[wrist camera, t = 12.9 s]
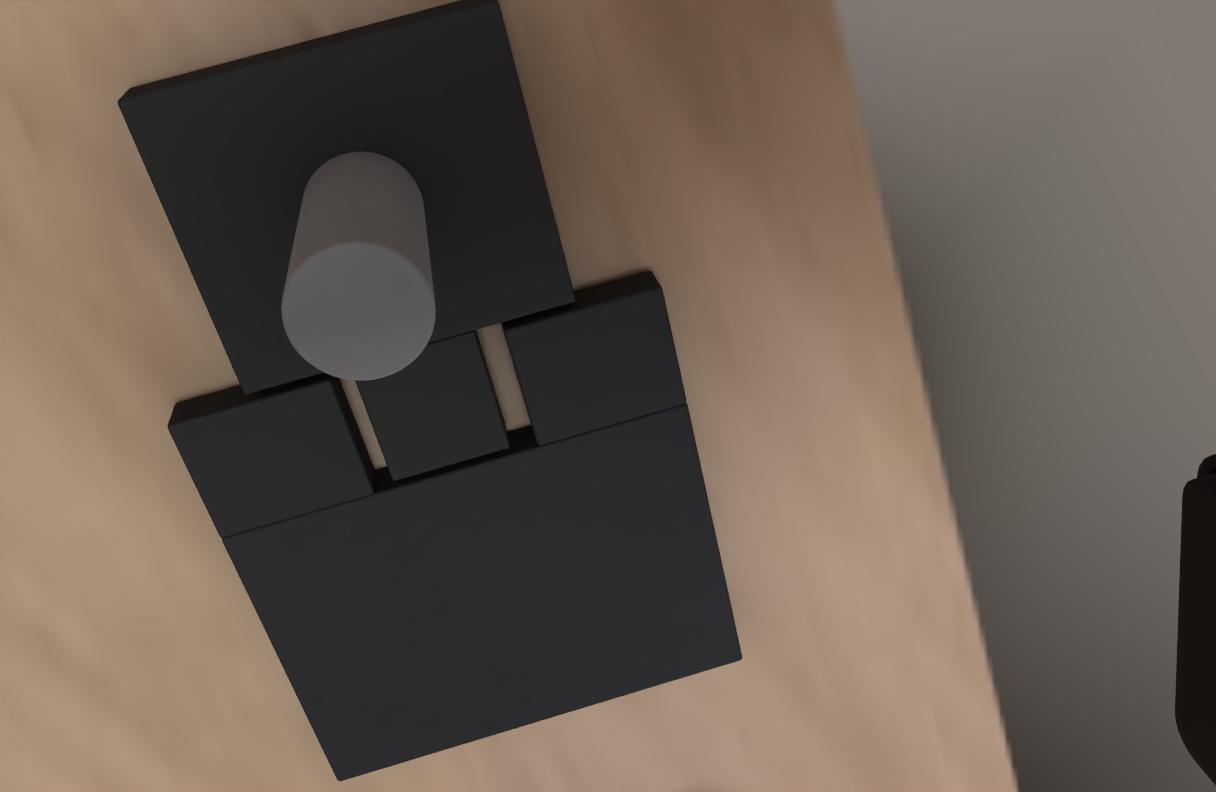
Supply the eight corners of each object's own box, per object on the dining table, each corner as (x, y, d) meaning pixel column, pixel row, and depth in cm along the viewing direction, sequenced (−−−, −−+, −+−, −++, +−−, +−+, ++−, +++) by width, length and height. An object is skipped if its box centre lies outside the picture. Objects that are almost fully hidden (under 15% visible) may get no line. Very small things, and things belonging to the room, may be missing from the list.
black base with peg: (493, -9, 24) (533, 51, 18) (598, 399, 29) (659, 557, 23) (127, 88, 24) (36, 184, 17) (297, 485, 29) (274, 672, 22)
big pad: (651, 268, 28) (661, 286, 27) (732, 634, 34) (743, 660, 32) (174, 403, 27) (165, 426, 26) (339, 752, 33) (337, 783, 32)
